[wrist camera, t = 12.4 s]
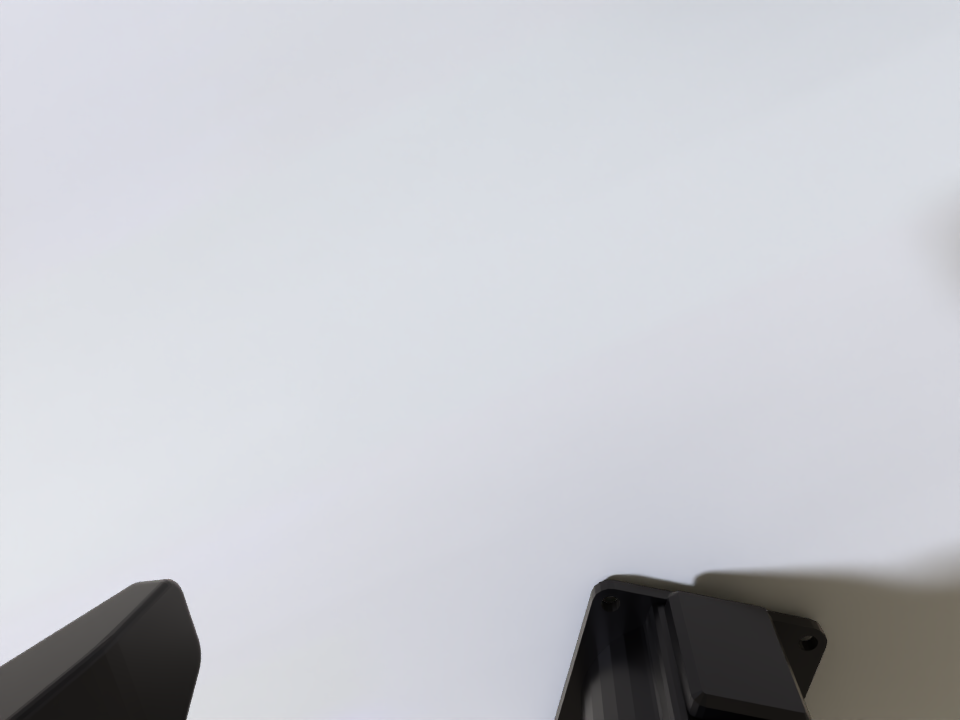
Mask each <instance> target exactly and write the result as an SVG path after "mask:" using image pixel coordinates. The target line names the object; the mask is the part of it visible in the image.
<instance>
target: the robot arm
mask: <svg viewBox="0 0 960 720" xmlns="http://www.w3.org/2000/svg"><path fill="white" fill-rule="evenodd" d="M608 596H613V597H615V598H617V600H616V601H614V602H612V603H606V602H604V601H602V600H603V599H604V598H606V597H608ZM804 636H812V638H811V639H809V640H807V641H800V639H801V638H802V637H804ZM826 645H827V639H826V636H825V634H824V632H823V630H822V627H821V626H820V625H819V624H818V623H817V622H816V621H814V620H811V619H807V618H802V617H797V616H792V615H787V614H782V613H777V612H772V611H767V610H766V609H765V608H763V607H759V606H753V605H748V604H743V603H738V602H733V601H728V600H723V599H718V598H713V597H708V596H703V595H698V594H693V593H688V592H683V591H677V592H671V591H666V590H661V589H656V588H651V587H646V586H640V585H635V584H630V583H625V582H620V581H615V580H605V581H602V582H599V583H598V584H597V585H595V586H594V588H593V590H592V592H591V595H590V599H589V602H588V606H587V609H586V612H585V616H584V619H583V623H582V626H581V630H580V633H579V637H578V640H577V644H576V647H575V651H574V654H573V657H572V661H571V664H570V668H569V671H568V675H567V678H566V682H565V685H564V689H563V692H562V696H561V699H560V702H559V706H558V709H557V713H556V716H555V720H811V717H810V714H809V712H808V709H807V707H806V704H805V702H804V698H805V696H806V693H807V691H808V689H809V686H810V684H811V682H812V679H813V677H814V674H815V672H816V670H817V667H818V665H819V663H820V660H821V658H822V655H823V653H824V651H825V648H826ZM200 663H201V649H200V643H199V639H198V636H197V633H196V630H195V627H194V624H193V621H192V618H191V615H190V612H189V609H188V606H187V603H186V600H185V597H184V594H183V592H182V590H181V587H180V586H179V585H178V583H176V582H175V581H173V580H171V579H163V580H154V581H144V582H138V583H134V584H132V585H130V586H129V587H127V588H126V589H124V590H122V591H121V592H119V593H118V594H116V595H114V596H113V597H111V598H110V599H108V600H106V601H105V602H103V603H102V604H100V605H98V606H97V607H95V608H94V609H92V610H90V611H89V612H87V613H85V614H84V615H82V616H81V617H79V618H77V619H76V620H74V621H73V622H71V623H69V624H68V625H66V626H65V627H63V628H61V629H60V630H58V631H57V632H55V633H53V634H52V635H50V636H49V637H47V638H45V639H44V640H42V641H41V642H39V643H37V644H36V645H34V646H33V647H31V648H29V649H28V650H26V651H25V652H23V653H21V654H20V655H18V656H17V657H15V658H13V659H12V660H10V661H9V662H7V663H5V664H4V665H2V666H1V667H0V720H186V719H187V715H188V711H189V707H190V704H191V700H192V696H193V692H194V688H195V685H196V681H197V677H198V673H199V669H200Z"/></svg>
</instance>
